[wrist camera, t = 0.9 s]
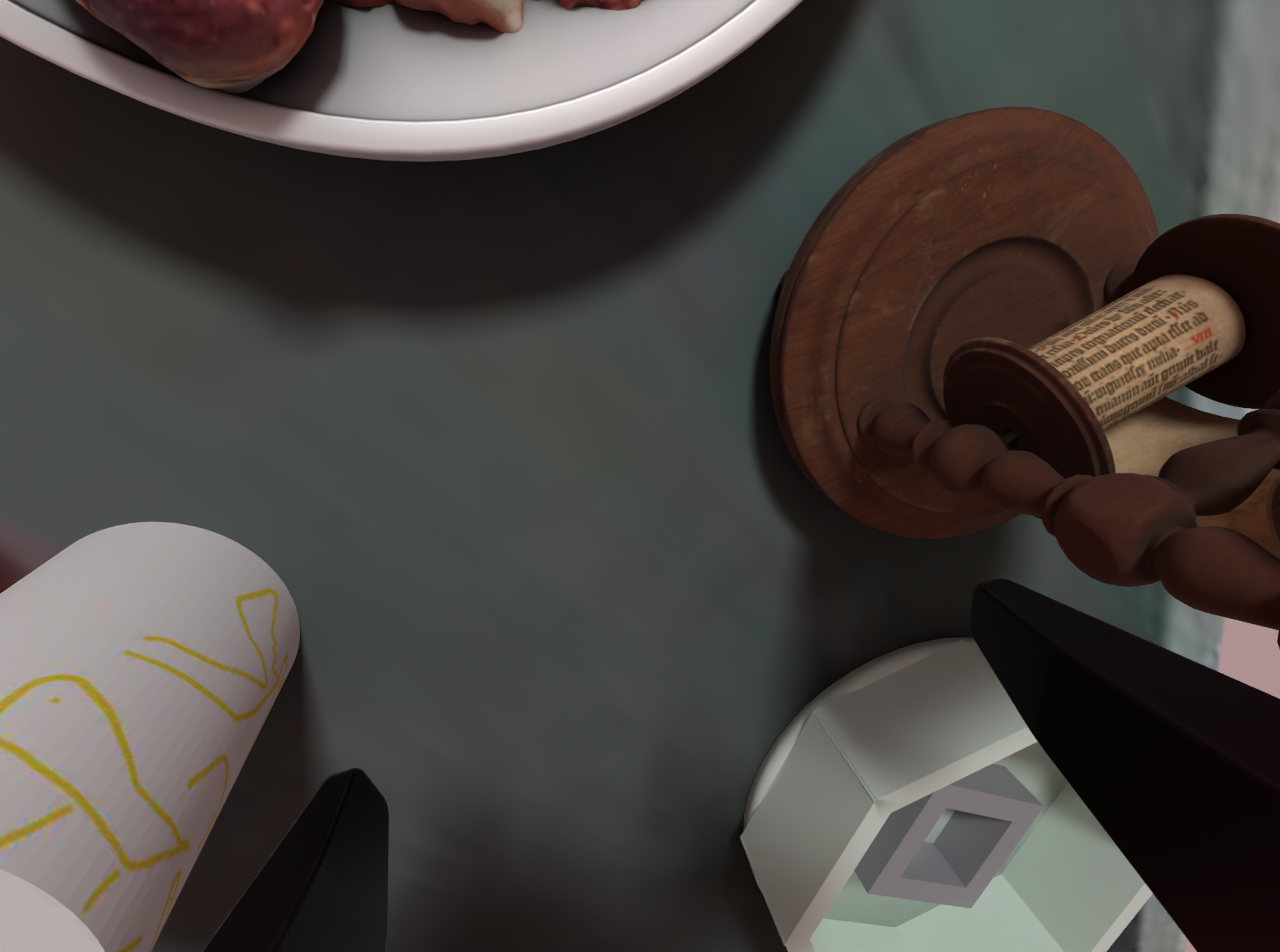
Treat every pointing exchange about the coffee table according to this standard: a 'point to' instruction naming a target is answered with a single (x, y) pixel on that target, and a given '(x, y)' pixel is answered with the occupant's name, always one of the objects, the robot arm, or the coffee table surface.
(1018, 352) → the scroll
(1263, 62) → the coffee table surface
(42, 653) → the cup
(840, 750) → the octagonal white bin
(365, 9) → the bowl
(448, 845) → the coffee table surface
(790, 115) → the coffee table surface
